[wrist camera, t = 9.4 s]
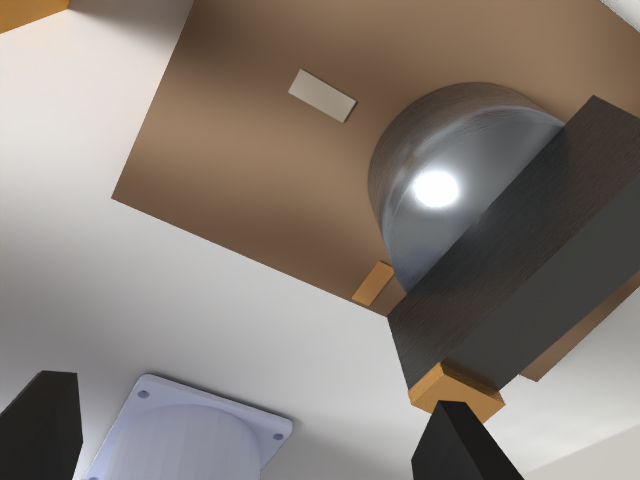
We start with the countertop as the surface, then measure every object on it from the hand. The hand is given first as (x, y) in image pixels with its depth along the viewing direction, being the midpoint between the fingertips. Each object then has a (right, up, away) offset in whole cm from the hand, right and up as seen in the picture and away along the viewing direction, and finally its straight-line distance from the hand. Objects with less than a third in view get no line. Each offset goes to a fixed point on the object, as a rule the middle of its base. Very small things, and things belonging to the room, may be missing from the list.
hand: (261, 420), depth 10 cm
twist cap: (+6, +6, +7) cm, 11 cm away
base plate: (+6, +7, +9) cm, 12 cm away
